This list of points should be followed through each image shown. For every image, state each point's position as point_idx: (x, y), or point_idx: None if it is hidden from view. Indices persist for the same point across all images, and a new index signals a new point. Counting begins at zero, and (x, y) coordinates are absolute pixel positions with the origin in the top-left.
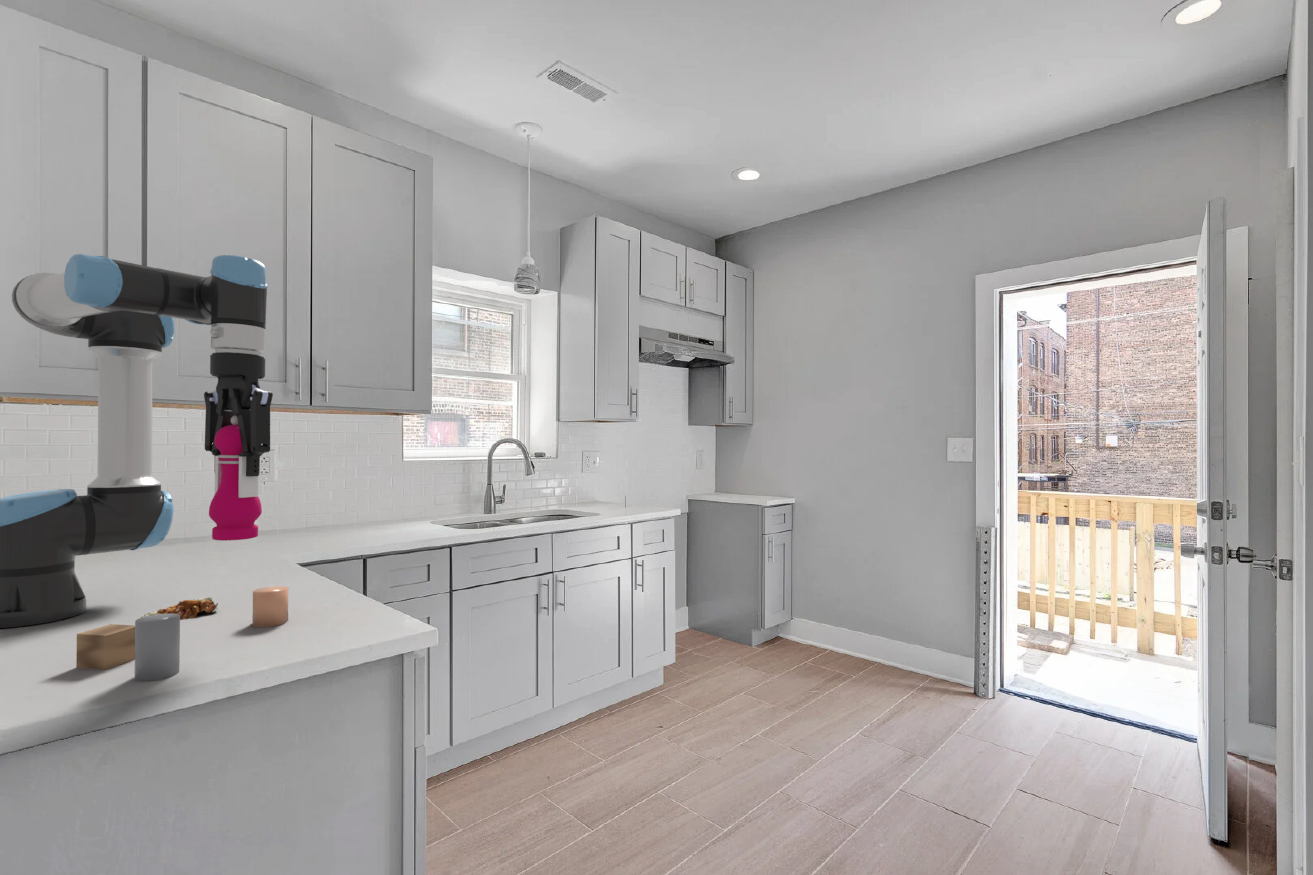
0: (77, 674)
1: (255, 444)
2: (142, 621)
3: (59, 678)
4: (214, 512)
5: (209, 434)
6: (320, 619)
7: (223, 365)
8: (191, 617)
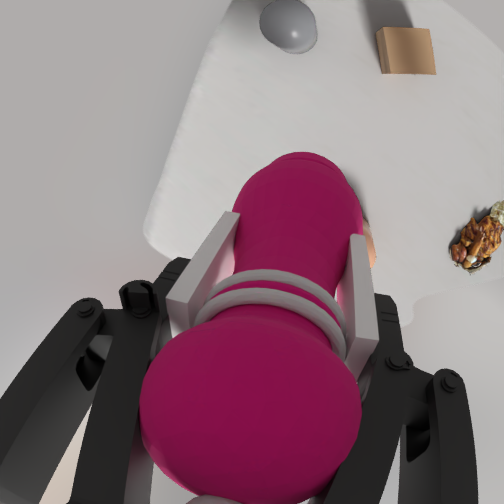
0: (388, 15)
1: (63, 320)
2: (291, 5)
3: (392, 3)
4: (300, 162)
5: (440, 447)
6: None
7: None
8: (463, 230)
